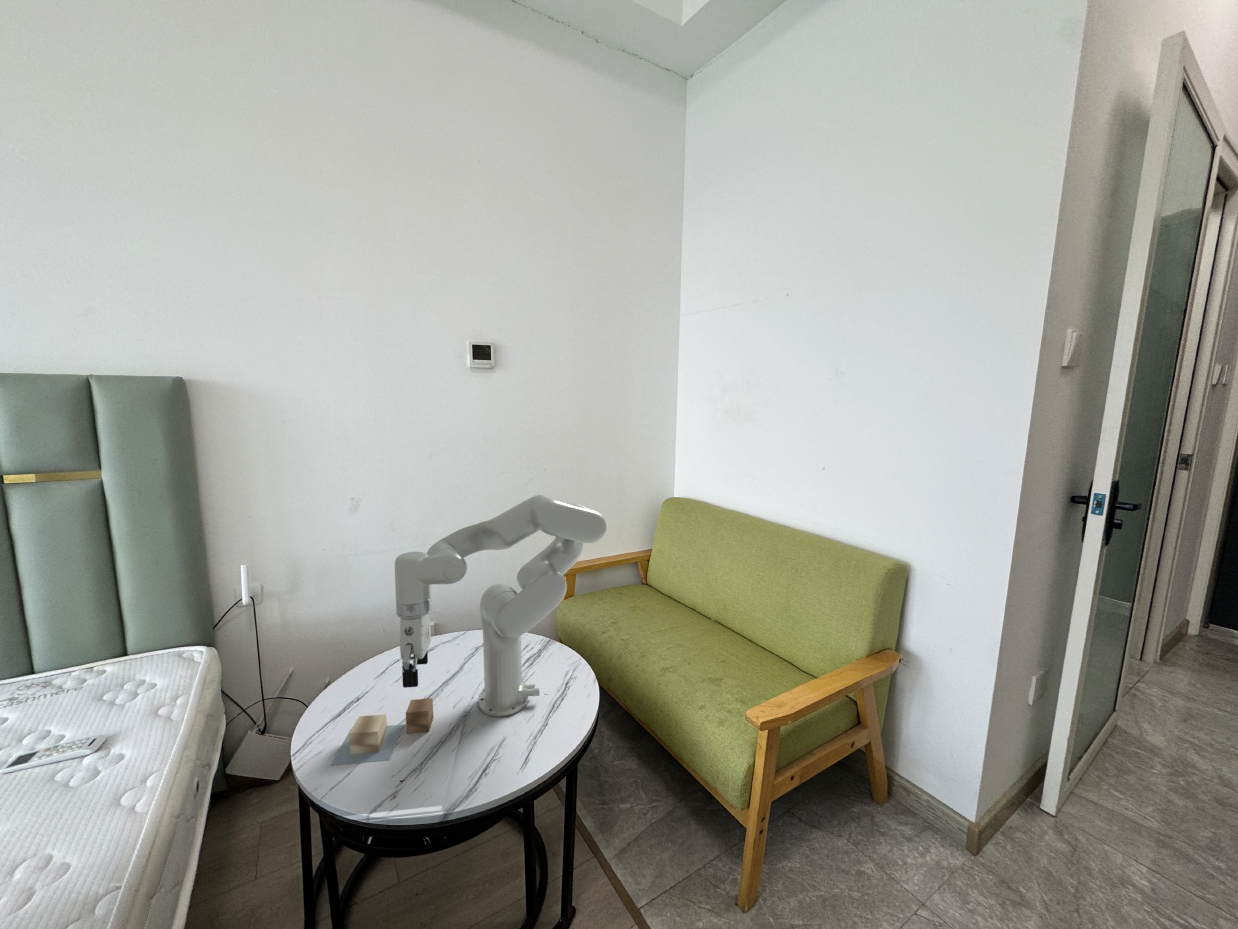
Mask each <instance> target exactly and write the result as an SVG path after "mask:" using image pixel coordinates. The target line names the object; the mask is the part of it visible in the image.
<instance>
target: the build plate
mask: <svg viewBox="0 0 1238 929" xmlns="http://www.w3.org/2000/svg"><path fill="white" fill-rule="evenodd" d="M404 726H405V724H403V723H401V724H392V725H387V735H386V738H385V740H384V742H383V744H382V747H381V749H380V751H379V752H371V753H360V754H350V741H349V733H350V731H351V729H350V730H349V732H348V734H347V735H346V737H345V739H344V740H343V742H342V745H341V746H340V747H339V750H338V752H337V753H336V755H335V757H334V758H333V760H332V761H331V763H330V767H331V766H333V767H334V766H341V765H353V764H355V765H356V764H362V763H363V764H365V763H374V762H384V761H385V762H386V761H390V760H391V757H392V755H393V753H394V751H395V748H396V746H397V743H398V740H399V738H400V735H401V733H402V731H403V728H404Z"/></svg>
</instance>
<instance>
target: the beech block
mask: <svg viewBox="0 0 1238 929" xmlns="http://www.w3.org/2000/svg"><path fill="white" fill-rule="evenodd" d="M387 723H388V722H387V714H384V713H383V714H374V715H360V716H358V717H357V718H356V720H355V723H354V724H353V726H352V727H351V728H350V730H351V731H350V730H349V732H350V733H349V732H348V733H349V741H350V754H360V753H371V752H379V751H380V749H381V747H382V744H383V742H384V740H385V738H386V735H387V726H388V724H387Z"/></svg>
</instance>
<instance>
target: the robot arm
mask: <svg viewBox="0 0 1238 929" xmlns="http://www.w3.org/2000/svg"><path fill="white" fill-rule="evenodd" d="M539 531H541V532H543V533H545V534H546V535H549V536H552V537H554V539H553V540H552V541H551V542H550V544H548V545H547V546H546V547H545V548H544V549H543V550H542V551H540V552H539V553H538V554H536V555H535V556H534V557H533V558H531V559H529V560H528V562H526V563H525V564H524V565H522V566H521V567H520V569H519V570H518V572H517V575H516V582H517V585H518V587H519V588H520V592H518V591H516V590H515V589H514V588H513V587H512V586H510V585H507V584H504V583H496V584H493V585H491V586H489V587H488V588H487V589H486V590H484V592H483V593H482V596H481V598H480V602H479V614H480V622H481V629H482V640H483V642H482V644H483V646H482V647H483V675H484V676H483V678H484V679H483V681H484V692H482V694H481V695H480V697H479V699H478V707H479V710H480V711H481V712H482V713H483V714H485V715H488V716H489V717H490V716H491V717H506V716H511V715H513V714H516V713H518V712H520V711H521V710H523V709H524V708H525V706H527V704H528V701H529V697H540V687H536V685H535V683H530V684H526V683H524V680H525V679H524V678H523V672H522V669H523V668H522V636H523V635H524V634H526V633H527V632H529V630H532V628H534V627H535V626H536V625H538V623H539V622H541V621H542V620H543V619H544V618H545V617H547V616H548V615H549V614H550V613H551V612H553V611H554V610H555V609H556V608H557V607H558V606H559V605H560V603H562V601H563V599H564V598H565V595H566V593H567V589H568V588H567V587H568V583H567V580H566V578H565V576H564V575H565V574H566V573H567V572H568V571H569V570H571V568H572V567H573V566H574V565H575V564H576V563H577V562H578V560H579V559H580V557H581V554H582V551H583V548H584V544H593V543H598V542H599V541H600V540H601V539H602V538H603V537H604V536H605V534H606V531H607V521H606V519H605V517H604V516H603V515H602V514H601V513H599V512H598V511H596V510H594V509H592V508H589V507H587V506H585V505H582V504H579V503H569V504H567V503H564V502H562V501H559V500H557V499H555V498H552V497H550V496H548V495H546V494H537V495H533V496H531V497H530V498H527V499H526V500H524V501H522V502H520V503H518V504H516V505H514V506H512V507H511V508H509V509H507V510H505V511H503V512H502V513H500V514H498V515H496V516H495V517H492V518H491V519H488V520H484V521H480V522H477V523H475V524H474V523H473V524H471V525H468V526H465V527H462V528H460V529H458V530H456V531H454V532H452V533H450V534H448V535H447V536H444V537H442V538H441V539H439V540H438V541H436V542H434V543H433V544H432V545H431V546H430V547H429V548H428V549H427V552H423V551H409V552H405V553H402V554H399V555H398V556H397V557H396V558H395V560H394V583H395V589H394V590H395V610H396V611H395V612H396V613H395V614H396V616H397V617H398V618H399V619H400V623H399V624H400V626H399V649H400V650H399V653H400V659H402V662H401V663H402V666H401V672H402V673H401V674H402V688H405V689H407V688H417V687H418V686H419V669H418V668H417V666H418V665H427V664H428V663H429V662H428V661H429V660H428V659H429V657H428V651H429V650H428V649H429V648H430V645H431V643H432V631H431V618H430V617H431V616H430V612H432V590H431V589H432V588H431V586H432V585H454V584H456V583H458V582H460V581H461V580H462V579H464V577H465V575H466V574H467V570H468V565H467V562H466V559H465V558H467V557H469V556H470V555H473V554H476V553H478V552H482V551H488V550H489V551H490V550H492V551H493V550H495V551H496V550H497V551H499V550H507V549H510V548H512V547H515V545H517V544H519V543H520V542H522V541H524V540H526V539H528V538H529V537H531V536H532V535H534V534H536V533H538V532H539ZM411 661H413V663H411Z"/></svg>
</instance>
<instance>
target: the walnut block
mask: <svg viewBox="0 0 1238 929" xmlns="http://www.w3.org/2000/svg"><path fill="white" fill-rule="evenodd" d="M433 700H434V699H433V698H430V697H429V698H419V699H410V701H409V704H408V706H407V709H406V711H405V722H406V723H405V725H406V734H407V735H408V734H418V733H429V732H430V731H431V727H432V725H433V724H432V723H433V721H434V717H435V716H434V701H433Z"/></svg>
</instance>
